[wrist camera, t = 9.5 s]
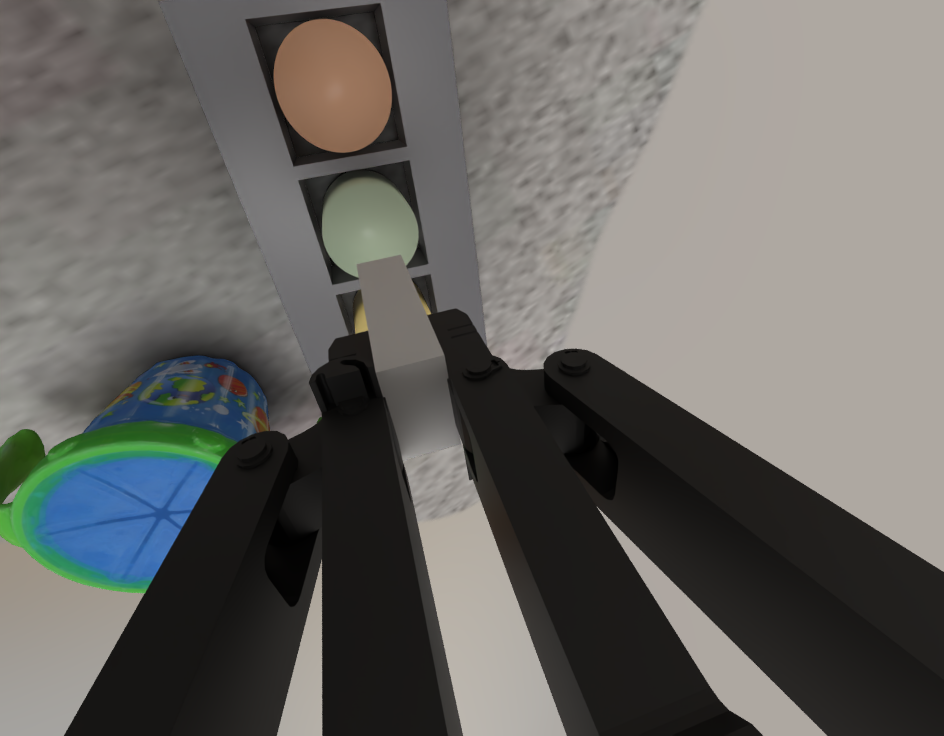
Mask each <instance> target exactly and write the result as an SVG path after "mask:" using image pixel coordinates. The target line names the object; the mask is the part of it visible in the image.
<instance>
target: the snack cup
mask: <svg viewBox="0 0 944 736" xmlns="http://www.w3.org/2000/svg"><path fill="white" fill-rule="evenodd" d="M321 419H322V417H320V418H319V419H318V421H317V423H318V422H319V421H320V420H321ZM263 431H270V427H269V417H268V405H267V400H266V396H265V395H264V394H263V392H262V389H261V388H260V386H259V385H258V383H257V382H256V381H255V379H254V378H253V377H252V376H251V375H249V374H248V373H247V372H245V371H244V370H242V369H240V368H238V367H237V366H236V364H235V363H234V362H231V361H228V360H225V359H222V358H221V359H214V358H209V357H207V356H198V355H196V356H188V357H180V358H176V359H172V360H165V361H162V362H158V363H156V364H155V365H154V366H153V367H152V368H150V369H149V370H148V371H146V372H145V373H143V374H142V375H140V376H139V377H138V378H137V379H135V381H134V382H132V383H131V384H130V385H129V386H128V388H126V389H125V390H124V391H123V392H122V393H121V394H120V395H119V396H118V397H117V398H116V399H115V400H113V401H112V402H111V403H110V404H109V405H108V406H107V407H106V408H105V409H104V410H103V411H102V412H101V413H100V414H99V415H98V416H97V417H96V418H95V419H94V420H93V421H92V422H91V424H90V425H89V426H88V427H87V428H86V429H85V431H84V432H83V433H82V434H79V435H77V436H74V437H71V438H69V439H67V440H65V441H63V442H61V443H60V444H58V445H56V446H55V447H53V448H52V449H51V450H50V451H49V452H48V455H46V456H45V451H44V445H43V443H42V441H41V439H40V437H39V436H38V434H37V433H36V432H35V431H33V430H30V429H23V430H20V431H19V432H18V433H16V434H15V435H13V436H11V437H10V438H8V439H7V440H6V442H5V443H4V444H3V445H2V446H1V447H0V535H1V537H2V538H4V539H5V540H6V541H8V542H10V543H11V544H13V545H15V546H18V547H22V548H24V549H25V551H26V552H27V553H28V554H29V555H30V556H31V557H32V558H34V559H35V560H36V561H38V562H39V563H40V564H42V565H43V566H44V567H46V568H47V569H48V570H51V571H53V572H54V573H56V574H58V575H60V576H62V577H65V578H67V579H70V580H72V581H75V582H78V583H81V584H84V585H88V586H93V587H97V588H102V589H107V590H113V591H121V592H130V593H145V592H146V590H147V589H148V587H149V585H150V583H151V582H152V580H153V578H154V576H155V575H156V573H157V571H158V569H159V568H160V566H161V564H162V562H163V560H164V559H165V557H166V555H167V553H168V552H169V550H170V548H171V546H172V545H173V543H174V541H175V539H176V538H177V536H178V534H179V532H180V531H181V529H182V527H183V525H184V523H185V522H186V520H187V518H188V516H189V515H190V513H191V511H192V509H193V508H194V506H195V504H196V502H197V501H198V499H199V497H200V495H201V494H202V492H203V490H204V488H205V486H206V485H207V483H208V481H209V479H210V478H211V476H212V474H213V472H214V471H215V469H216V467H217V465H218V464H219V462H220V460H221V458H222V457H223V456H224V455H225V453H226V452H227V451H228V450H229V448H231V447H232V446H233V445H235V444H236V443H237V442H239V441H240V440H242V439H244V438H246V437H248V436H250V435H252V434H255V433H259V432H263ZM20 484H22V485H21V487H20V488H19V490H18V492H17V494H16V496H15V498H14V500H13V502H11V503H8V504H2V503H3V502H4V500H5V499H6V497H7V496H8V495H9V494H10V493H11V492H13V491H14V490H15V489H16V488H17V487H18V486H19V485H20Z"/></svg>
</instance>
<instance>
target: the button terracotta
mask: <svg viewBox="0 0 944 736" xmlns="http://www.w3.org/2000/svg"><path fill="white" fill-rule="evenodd" d="M274 85H275V91H276V95H277V99H278V102H279V104H280V107H281V109H282V111H283V113H284V115H285V117H286V118H287V120H288V121H289V123H290V124H291V125H292V127H293V128H294V129H295V130H296V131H297V132H298V133H299V134H300V135H301V136H302V137H303V138H305V139H306V140H307V141H308V142H310V143H312V144H313V145H315V146H317V147H319V148H321V149H324V150H327V151H331V152H338V153H346V152H353V151H357V150H360V149H362V148H364V147H366V146H368V145H369V144H371V143H372V142H373V141H374V140H375V139H376V138H377V137H378V136H379V135H380V133H381V132H382V131H383V129H384V127H385V125H386V123H387V121H388V118H389V115H390V110H391V104H392V89H391V82H390V78H389V74H388V71H387V68H386V65H385V63H384V61H383V59H382V57H381V56H380V54H379V52H378V51H377V49H376V48H375V47H374V46H373V44H372V43H371V42H370V41H369V40H368V39H367V38H366V37H365V36H364V35H363V34H362V33H360V32H359V31H358V30H356V29H355V28H353V27H351V26H350V25H347V24H345V23H343V22H340V21H336V20H331V19H316V20H311V21H308V22H305V23H303V24H301V25H299V26H297V27H296V28H294V29H293V30H292V31H291V32H290V33H289V34H288V35H287V36H286V38H285V39H284V40H283V42H282V44H281V46H280V47H279V50H278V53H277V55H276V59H275V64H274Z"/></svg>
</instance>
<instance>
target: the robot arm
mask: <svg viewBox="0 0 944 736" xmlns="http://www.w3.org/2000/svg"><path fill="white" fill-rule="evenodd" d="M356 265H357V271H358V276H359V282H360V287H361V293H362V299H363V304H364V310H365V316H366V321H367V327H368V331H364V332H360V333H356V334H352V335H348V336H343V337H339V338H335V340H334V341H333V343H332V345H331V346H330V348H329V349H328V360H329V362H328V363H326V364H324V365H323V366H321V367H319V368H318V369H317V370H316V371H315V372H314V373H313V374H312V376H311V378H310V381H309V384H310V387H311V389H312V391H313V394H314V396H315V398H316V401H317V403H318V405H319V408H320V410H321V412H322V419H321V420H320V421H319V422H318V423H317V424H315V425H314V426H313V427H311V428H310V429H308V430H306V431H305V432H303V433H301V434H299V435H297V436H295V437H293V438H291V439H289V440H288V439H287V437H286V436H285V435H284V434H282V433H280V432H278V431H263V432H259V433H255V434H252V435H250V436H248V437H246V438H244V439H242V440H240V441H239V442H237V443H236V444H235V445H233V446H232V447H231V448H229V450H228V451H227V452H226V453H225V455H224V456H223V457H222V458H221V460H220V462H219V464H218V465H217V467H216V469H215V471H214V472H213V474H212V476H211V478H210V479H209V481H208V483H207V485H206V486H205V488H204V490H203V492H202V494H201V495H200V497H199V499H198V501H197V502H196V504H195V506H194V508H193V509H192V511H191V513H190V515H189V516H188V518H187V520H186V522H185V523H184V525H183V527H182V529H181V531H180V532H179V534H178V536H177V538H176V539H175V541H174V543H173V545H172V546H171V548H170V550H169V552H168V553H167V555H166V557H165V559H164V560H163V562H162V564H161V566H160V568H159V569H158V571H157V573H156V575H155V576H154V578H153V580H152V582H151V583H150V585H149V587H148V589H147V590H146V592H145V594H144V596H143V597H142V599H141V601H140V603H139V604H138V606H137V608H136V610H135V612H134V613H133V615H132V617H131V619H130V620H129V622H128V624H127V626H126V627H125V629H124V631H123V633H122V634H121V636H120V638H119V640H118V641H117V643H116V645H115V647H114V649H113V650H112V652H111V654H110V656H109V657H108V659H107V661H106V663H105V664H104V666H103V668H102V670H101V672H100V673H99V675H98V677H97V679H96V680H95V682H94V684H93V686H92V687H91V689H90V691H89V693H88V694H87V696H86V698H85V700H84V701H83V703H82V705H81V707H80V708H79V710H78V712H77V714H76V716H75V717H74V719H73V721H72V723H71V724H70V726H69V728H68V730H67V731H66V733H65V735H64V736H277V732H278V728H279V724H280V721H281V717H282V713H283V709H284V705H285V701H286V697H287V693H288V689H289V685H290V681H291V677H292V673H293V669H294V665H295V662H296V658H297V654H298V650H299V646H300V642H301V638H302V634H303V630H304V626H305V622H306V618H307V614H308V611H309V607H310V603H311V599H312V595H313V591H314V587H315V583H316V579H317V576H318V572H319V568H320V564H321V560H322V699H323V700H322V723H323V724H322V726H323V727H322V730H323V731H322V735H323V736H463V733H462V728H461V724H460V719H459V715H458V710H457V705H456V700H455V696H454V692H453V687H452V682H451V677H450V673H449V668H448V663H447V659H446V654H445V649H444V645H443V640H442V635H441V631H440V626H439V621H438V617H437V612H436V607H435V603H434V598H433V594H432V589H431V584H430V580H429V575H428V570H427V565H426V561H425V556H424V551H423V547H422V542H421V538H420V533H419V528H418V523H417V519H416V514H415V509H414V505H413V500H412V496H411V491H410V486H409V482H408V477H407V474H406V470H405V467H404V464H403V461H405V460H408V459H412V458H415V457H418V456H422V455H425V454H429V453H432V452H436V451H439V450H443V449H446V448H449V447H453V446H456V445H460V444H461V441H460V438H461V440H462V443H463V448H464V453H465V459H466V464H467V470H468V475H469V480H472V479H473V481H474V484H475V486H476V489H477V492H478V494H479V497H480V500H481V502H482V505H483V508H484V511H485V514H486V516H487V519H488V522H489V524H490V527H491V530H492V532H493V535H494V538H495V541H496V543H497V546H498V549H499V552H500V554H501V557H502V560H503V562H504V565H505V568H506V570H507V573H508V576H509V579H510V582H511V584H512V587H513V590H514V593H515V595H516V598H517V601H518V603H519V606H520V609H521V611H522V614H523V617H524V620H525V622H526V625H527V628H528V631H529V633H530V636H531V639H532V642H533V644H534V647H535V650H536V653H537V655H538V658H539V661H540V663H541V666H542V669H543V671H544V674H545V677H546V680H547V683H548V685H549V688H550V690H551V693H552V696H553V699H554V702H555V704H556V707H557V710H558V713H559V715H560V718H561V721H562V723H563V726H564V729H565V732H566V734H567V736H763V735H762V734H761V733H760V732H759V731H758V730H757V729H756V728H755V727H754V726H753V725H752V724H751V723H749V722H748V721H746V720H744V719H742V718H741V717H739V716H738V715H736V714H734V713H733V712H731V711H729V710H728V709H727V708H726V707H725V706H724V705H723V703H722V702H721V701H720V700H719V699H718V697H717V696H716V695H715V693H714V692H713V691H712V689H711V688H710V686H709V684H708V683H707V682H706V680H705V678H704V676H703V675H702V673H701V672H700V670H699V669H698V667H697V665H696V664H695V662H694V661H693V659H692V658H691V656H690V654H689V653H688V651H687V650H686V648H685V647H684V645H683V643H682V642H681V640H680V638H679V637H678V635H677V634H676V632H675V630H674V629H673V627H672V626H671V624H670V623H669V621H668V619H667V618H666V616H665V615H664V613H663V611H662V610H661V608H660V607H659V605H658V603H657V602H656V600H655V599H654V597H653V595H652V594H651V592H650V591H649V589H648V588H647V586H646V584H645V583H644V581H643V580H642V578H641V576H640V575H639V573H638V572H637V570H636V568H635V567H634V565H633V564H632V562H631V561H630V559H629V557H628V556H627V554H626V553H625V551H624V549H623V548H622V546H621V545H620V543H619V541H618V540H617V538H616V537H615V535H614V534H613V532H612V530H611V529H610V527H609V526H608V524H607V522H606V521H605V519H604V518H603V516H602V514H601V513H600V511H599V510H598V508H599V509H600V510H601V511H602V512H603V513H604V514H605V515H606V516H607V517H608V518H609V519H610V520H611V521H612V522H613V523H614V524H615V525H616V526H617V527H618V528H619V529H620V530H621V531H622V532H623V533H624V534H625V535H626V536H627V537H628V538H629V539H630V540H631V541H632V542H633V543H634V544H635V545H636V546H637V547H639V549H640V550H641V551H642V552H643V553H644V554H645V555H646V556H647V557H648V558H649V559H650V560H651V561H652V562H653V563H654V564H655V565H657V566H658V568H659V569H660V570H662V572H663V573H664V574H665V575H666V576H667V577H669V578H670V580H671V581H672V582H674V584H675V585H676V586H677V587H679V589H681V590H682V591H683V592H684V593H685V594H686V595H687V596H688V597H689V598H690V599H691V600H692V601H693V602H694V603H695V604H696V605H697V606H698V607H699V608H700V609H701V610H702V611H703V612H704V613H705V614H706V615H707V616H708V617H709V618H710V619H711V620H712V621H713V622H714V623H715V624H716V625H717V626H718V627H719V628H720V629H721V630H722V631H723V632H724V633H725V634H726V635H727V636H728V637H729V638H730V639H731V640H732V641H733V642H734V643H735V644H736V645H737V646H738V647H739V648H740V649H741V650H742V651H743V652H744V653H745V654H746V655H747V656H748V657H749V658H750V659H751V660H752V661H753V662H754V663H755V664H756V665H757V666H758V667H759V668H760V669H761V670H762V671H763V672H764V673H765V674H766V675H767V676H768V677H769V678H770V679H771V680H772V681H773V682H774V683H775V684H776V685H777V686H778V687H779V688H780V689H781V690H782V691H783V692H784V693H785V694H786V695H787V696H788V697H789V698H790V699H791V700H792V701H793V702H794V703H795V704H796V705H797V706H798V707H799V708H800V709H801V710H802V711H804V713H805V714H806V715H807V716H808V717H809V718H810V719H811V720H813V722H814V723H815V724H817V726H818V727H819V728H820V729H822V731H823V732H824V733H825V734H826V735H827V736H944V572H943V571H941V570H939V569H938V568H936V567H935V566H933V565H932V564H930V563H928V562H927V561H925V560H924V559H922V558H920V557H919V556H917V555H916V554H914V553H912V552H911V551H909V550H907V549H906V548H904V547H903V546H901V545H900V544H898V543H896V542H895V541H893V540H892V539H890V538H889V537H887V536H885V535H884V534H882V533H881V532H879V531H877V530H875V529H874V528H873V527H871V526H869V525H868V524H866V523H865V522H863V521H861V520H860V519H858V518H857V517H855V516H853V515H852V514H850V513H849V512H847V511H845V510H844V509H842V508H841V507H839V506H837V505H836V504H834V503H833V502H831V501H830V500H828V499H826V498H824V497H823V496H822V495H820V494H818V493H817V492H815V491H814V490H812V489H810V488H809V487H807V486H806V485H804V484H802V483H801V482H799V481H798V480H796V479H794V478H793V477H791V476H790V475H788V474H786V473H785V472H783V471H782V470H780V469H779V468H777V467H775V466H774V465H772V464H770V463H769V462H767V461H766V460H764V459H763V458H761V457H759V456H758V455H756V454H755V453H753V452H751V451H750V450H748V449H747V448H745V447H743V446H742V445H740V444H738V443H737V442H736V441H734V440H732V439H731V438H729V437H728V436H726V435H724V434H723V433H721V432H720V431H718V430H716V429H715V428H713V427H712V426H710V425H708V424H707V423H705V422H704V421H702V420H700V419H699V418H697V417H696V416H694V415H692V414H691V413H689V412H688V411H686V410H684V409H683V408H681V407H680V406H678V405H677V404H675V403H673V402H672V401H670V400H669V399H667V398H665V397H664V396H662V395H660V394H659V393H657V392H656V391H654V390H653V389H651V388H649V387H648V386H646V385H645V384H643V383H641V382H640V381H638V380H637V379H635V378H634V377H632V376H630V375H628V374H627V373H626V372H624V371H622V370H621V369H619V368H618V367H616V366H614V365H613V364H611V363H610V362H608V361H606V360H605V359H603V358H602V357H600V356H598V355H597V354H595V353H592V352H590V351H588V350H582V349H564V350H561V351H557V352H554V353H553V354H551V355H550V356H548V357H547V359H546V360H545V362H544V369H538V370H516V369H511V368H509V367H508V365H507V364H506V363H505V362H504V361H503V360H502V359H501V358H498V357H496V356H493V355H492V354H491V353H490V351H489V349H488V348H487V346H486V344H485V343H484V341H483V339H482V338H481V336H480V334H479V333H478V332H477V329H476V328H475V326H474V325H473V323H472V321H471V320H470V318H469V316H468V315H467V314H466V313H464V312H462V311H460V310H458V309H456V308H455V309H450V310H446V311H442V312H438V313H434V314H430V315H427V314H426V311H425V309H424V307H423V305H422V302H421V300H420V298H419V295H418V293H417V291H416V288H415V286H414V284H413V281H412V279H411V277H410V275H409V272H408V270H407V268H406V265H405V263H404V261H403V258H402V256H401V255H397V256H392V257H387V258H383V259H378V260H374V261H369V262H364V263H360V264H356ZM459 435H460V436H459ZM597 507H598V508H597Z"/></svg>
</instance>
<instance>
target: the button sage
mask: <svg viewBox="0 0 944 736" xmlns="http://www.w3.org/2000/svg"><path fill="white" fill-rule="evenodd" d="M322 236H323V242H324V245H325V248H326V250H327V252H328V254H329V256H330V257H331V259H332V260H333V261H334V262H335V263H336V264H337V266H339V267H340V268H341V269H342V270H344V271H345V272H347V273H348V274H351V275H353V276H355V277H358V278H359V276H358V271H357V265H356V264H360V263H364V262H369V261H374V260H378V259H383V258H387V257H392V256H397V255H401V256H402V258H403V261H404V263H405V265H407V264H408V263H409V261H410V260H411V259H412V257H413V255H414V253H415V251H416V248H417V244H418V225H417V221H416V218H415V215H414V213H413V211H412V209H411V208H410V206H409V205H408V203H407V202H406V200H405V199H404V197H403V196H402V194H401V192H400V191H399V190H398V188H397V187H396V186H395V185H394V184H393V182H391V181H390V180H389V179H388V178H386V177H385V176H383V175H381V174H379V173H376V172H373V171H369V170H354V171H350V172H347V173H345V174H343V175H341V176H340V177H338V178H337V179H336V180H335V181H334V182H333V183H332V184H331V185H330V186H329V188H328V189H327V192H326V194H325V196H324V200H323V206H322Z"/></svg>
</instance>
